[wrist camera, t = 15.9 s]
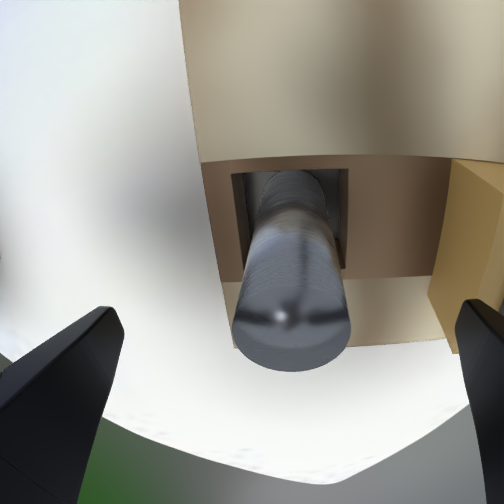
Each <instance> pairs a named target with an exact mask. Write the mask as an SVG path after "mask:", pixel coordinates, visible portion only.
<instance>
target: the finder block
mask: <svg viewBox="0 0 504 504" xmlns="http://www.w3.org/2000/svg"><path fill="white" fill-rule="evenodd" d="M427 296H428V298H429V301H430V303H431V305H432V307H433V309H434V311H435V313H436V316H437V318H438V320H439V322H440V325H441V327H442V329H443V332H444V334H445V336H446V339H447V341H448V343H449V346H450V348H451V351H452V353H453V354H458V353H459V351H458V346H457V341H456V336H455V323H456V320H457V317H458V315H459V312H460V309H461V306H462V303H463V302H464V301H465V300H466V299H475V298H477V299H480V300H482V301H483V302H484V303H486V304H487V305H489V306H490V307H492V308H493V309H495V310H496V311H498V312H499V313H500V314H502V315H503V316H504V164H498V163H491V162H482V161H473V160H463V159H453V158H452V162H451V172H450V180H449V188H448V196H447V203H446V209H445V215H444V221H443V227H442V232H441V237H440V242H439V247H438V252H437V257H436V261H435V265H434V270H433V274H432V278H431V282H430V286H429V290H428V293H427Z"/></svg>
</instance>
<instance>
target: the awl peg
mask: <svg viewBox="0 0 504 504" xmlns="http://www.w3.org/2000/svg"><path fill="white" fill-rule="evenodd" d="M350 335H351V322H350V317H349V311H348V305H347V300H346V295H345V290H344V284H343V279H342V274H341V269H340V265H339V260H338V255H337V250H336V246H335V241H334V237H333V232H332V228H331V224H330V220H329V215H328V211H327V207H326V203H325V199H324V195H323V191H322V188H321V186H320V184H319V182H318V181H317V180H316V179H315V178H314V177H313V176H312V175H311V174H309V173H307V172H305V171H302V170H283V171H281V172H278V173H277V174H275V175H274V176H272V177H271V178H270V179H269V180H268V182H267V183H266V185H265V187H264V190H263V195H262V199H261V203H260V207H259V211H258V216H257V220H256V224H255V228H254V233H253V237H252V241H251V245H250V250H249V254H248V258H247V262H246V267H245V271H244V275H243V279H242V284H241V288H240V292H239V296H238V301H237V305H236V309H235V313H234V318H233V322H232V336H233V339H234V342H235V344H236V346H237V347H238V349H239V350H240V351H241V352H242V353H243V354H244V355H245V356H246V357H247V358H248V359H250V360H251V361H253V362H255V363H257V364H258V365H261V366H263V367H266V368H269V369H272V370H277V371H285V372H298V371H306V370H311V369H314V368H317V367H320V366H323V365H325V364H327V363H328V362H330V361H332V360H333V359H335V358H336V357H337V356H338V355H339V354H340V353H341V352H342V351H343V350H344V349H345V347H346V345H347V344H348V342H349V339H350Z"/></svg>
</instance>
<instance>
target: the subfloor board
mask: <svg viewBox="0 0 504 504" xmlns="http://www.w3.org/2000/svg"><path fill="white" fill-rule="evenodd" d="M179 9H180V18H181V27H182V36H183V44H184V53H185V61H186V68H187V76H188V84H189V91H190V99H191V106H192V113H193V120H194V127H195V133H196V140H197V147H198V153H199V160H200V163H201V170H202V176H203V182H204V188H205V195H206V201H207V207H208V213H209V218H210V224H211V230H212V236H213V241H214V247H215V253H216V258H217V264H218V269H219V274H220V280H221V283H222V288H223V294H224V299H225V304H226V309H227V314H228V320H229V325H230V330H231V335H232V322H233V318H234V313H235V309H236V305H237V301H238V296H239V292H240V288H241V284H242V279H243V275H244V271H245V267H246V262H247V258H248V254H249V250H250V245H251V239H250V230H249V221H248V213H247V204H246V196H245V187H244V179H243V173H247V172H263V171H281V170H306V169H339V238H338V239H334V241H335V246H336V250H337V255H338V260H339V265H340V269H341V274H342V279H343V284H344V290H345V295H346V300H347V305H348V311H349V317H350V322H351V335H350V339H349V342H348V344H347V345H346V347H356V346H372V345H386V344H398V343H409V342H419V341H428V340H437V339H445V338H446V336H445V334H444V332H443V329H442V327H441V325H440V322H439V320H438V318H437V316H436V313H435V311H434V309H433V307H432V305H431V303H430V301H429V298H428V296H427V293H428V290H429V286H430V282H431V278H432V274H433V270H434V265H435V261H436V257H437V252H438V247H439V242H440V237H441V232H442V227H443V221H444V215H445V209H446V203H447V196H448V188H449V180H450V172H451V162H452V158H453V159H463V160H473V161H482V162H491V163H498V164H504V0H179ZM232 340H233V344H234V348H238V347H237V346H236V344H235V342H234V339H233V336H232Z"/></svg>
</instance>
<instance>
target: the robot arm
mask: <svg viewBox="0 0 504 504" xmlns="http://www.w3.org/2000/svg"><path fill="white" fill-rule="evenodd" d="M455 336H456V341H457V346H458V351H459V356H460V361H461V367H462V372H463V378H464V383H465V387H466V391H467V395H468V399H469V403H470V407H471V411H472V415H473V420H474V425H475V429H476V434H477V439H478V444H479V450H480V456H481V462H482V468H483V475H484V483H485V492H486V502H487V504H504V316H503V315H502V314H500V313H499V312H498V311H496V310H495V309H493V308H492V307H490V306H489V305H487V304H486V303H484V302H483V301H482V300H480V299H477V298H475V299H466V300H465V301H464V302H463V303H462V306H461V309H460V312H459V315H458V317H457V320H456V323H455ZM123 340H124V329H123V326H122V324H121V322H120V320H119V317H118V315H117V313H116V311H115V309H114V308H113V307H109V306H99V307H97V308H96V309H94V310H93V311H91V312H89V313H88V314H86V315H85V316H83V317H82V318H80V319H79V320H77V321H76V322H74V323H73V324H71V325H69V326H68V327H66V328H65V329H63V330H62V331H60V332H59V333H57V334H56V335H54V336H53V337H51V338H50V339H48V340H47V341H45V342H44V343H42V344H41V345H39V346H38V347H36V348H35V349H33V350H32V351H30V352H29V353H27V354H26V355H24V356H23V357H21V358H20V359H19V360H17V361H16V362H14V363H13V364H11V365H10V366H8V367H7V368H5V369H4V370H3V372H2V371H1V372H0V504H77V501H78V497H79V493H80V489H81V485H82V482H83V478H84V474H85V471H86V467H87V463H88V460H89V456H90V453H91V450H92V446H93V443H94V440H95V436H96V433H97V430H98V427H99V424H100V420H101V417H102V414H103V411H104V408H105V405H106V402H107V399H108V396H109V393H110V390H111V387H112V384H113V380H114V376H115V372H116V368H117V364H118V360H119V356H120V352H121V348H122V344H123Z"/></svg>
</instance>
